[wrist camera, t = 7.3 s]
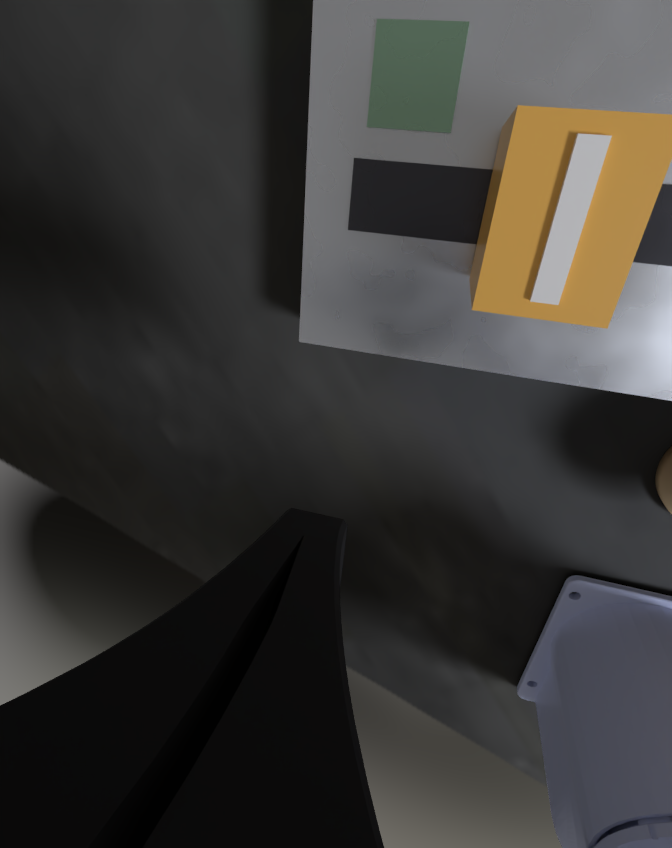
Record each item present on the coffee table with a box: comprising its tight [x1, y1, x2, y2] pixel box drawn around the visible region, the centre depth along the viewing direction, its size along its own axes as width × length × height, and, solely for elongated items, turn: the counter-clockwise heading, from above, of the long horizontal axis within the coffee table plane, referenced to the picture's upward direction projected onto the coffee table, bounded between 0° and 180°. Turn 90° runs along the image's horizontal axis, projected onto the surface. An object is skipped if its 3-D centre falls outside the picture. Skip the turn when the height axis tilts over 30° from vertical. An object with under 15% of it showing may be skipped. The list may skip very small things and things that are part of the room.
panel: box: [299, 0, 672, 401], centre depth 14 cm, size 10×16×3 cm, turn 86°
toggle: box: [469, 105, 672, 329], centre depth 11 cm, size 4×3×4 cm
